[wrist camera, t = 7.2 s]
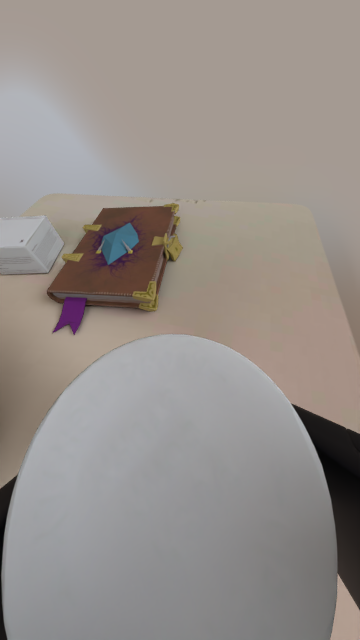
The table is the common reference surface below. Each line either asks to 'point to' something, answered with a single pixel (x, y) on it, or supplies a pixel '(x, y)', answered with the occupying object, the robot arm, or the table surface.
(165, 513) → the pill bottle
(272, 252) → the table surface
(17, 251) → the small box
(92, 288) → the book
